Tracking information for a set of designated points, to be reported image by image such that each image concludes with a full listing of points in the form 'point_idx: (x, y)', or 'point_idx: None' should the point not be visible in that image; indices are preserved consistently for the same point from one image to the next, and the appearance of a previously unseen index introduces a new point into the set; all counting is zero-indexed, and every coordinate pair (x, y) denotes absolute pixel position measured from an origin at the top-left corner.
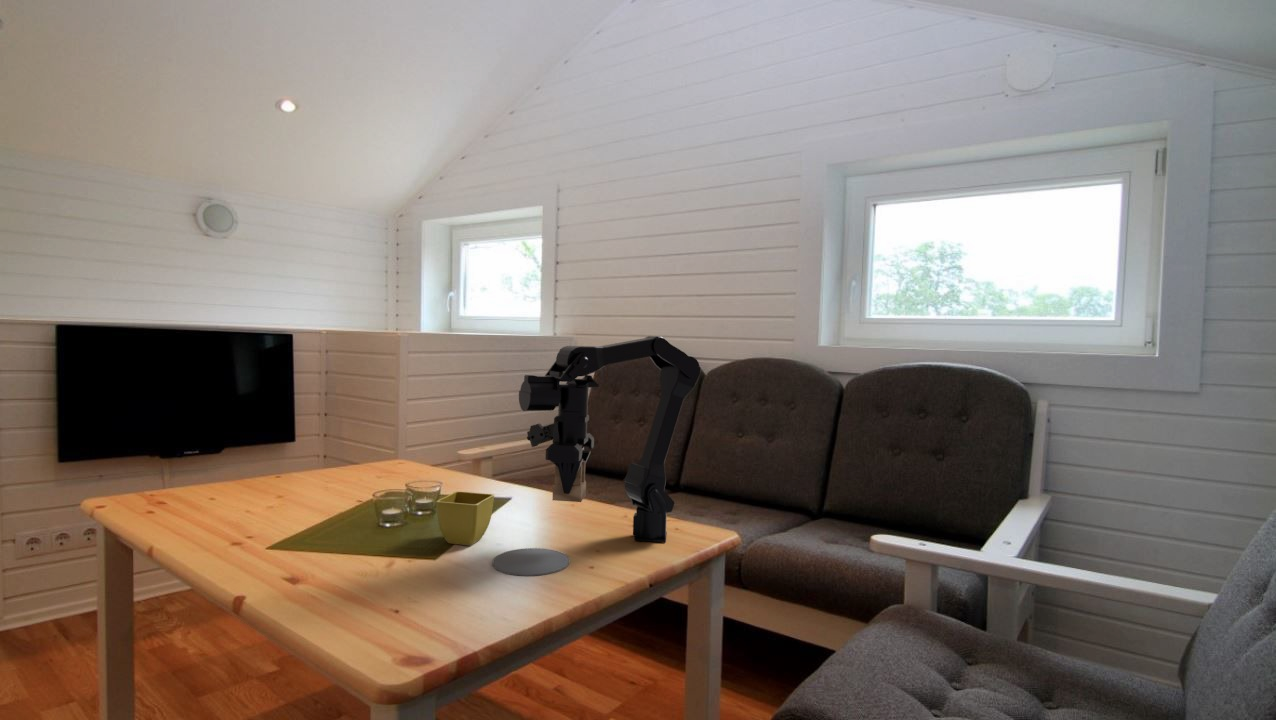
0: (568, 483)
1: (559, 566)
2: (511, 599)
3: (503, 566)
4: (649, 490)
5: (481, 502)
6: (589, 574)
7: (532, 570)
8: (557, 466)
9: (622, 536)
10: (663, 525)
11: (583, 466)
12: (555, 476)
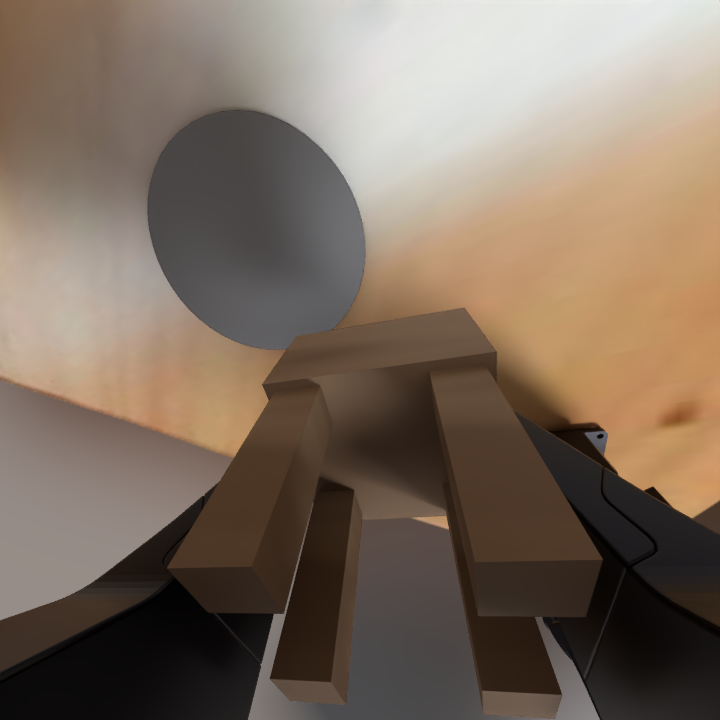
0: None
1: (254, 338)
2: (62, 312)
3: (170, 195)
4: (549, 625)
5: None
6: (261, 401)
7: (196, 289)
8: (59, 602)
9: (559, 401)
10: None
11: (470, 642)
12: (251, 438)
